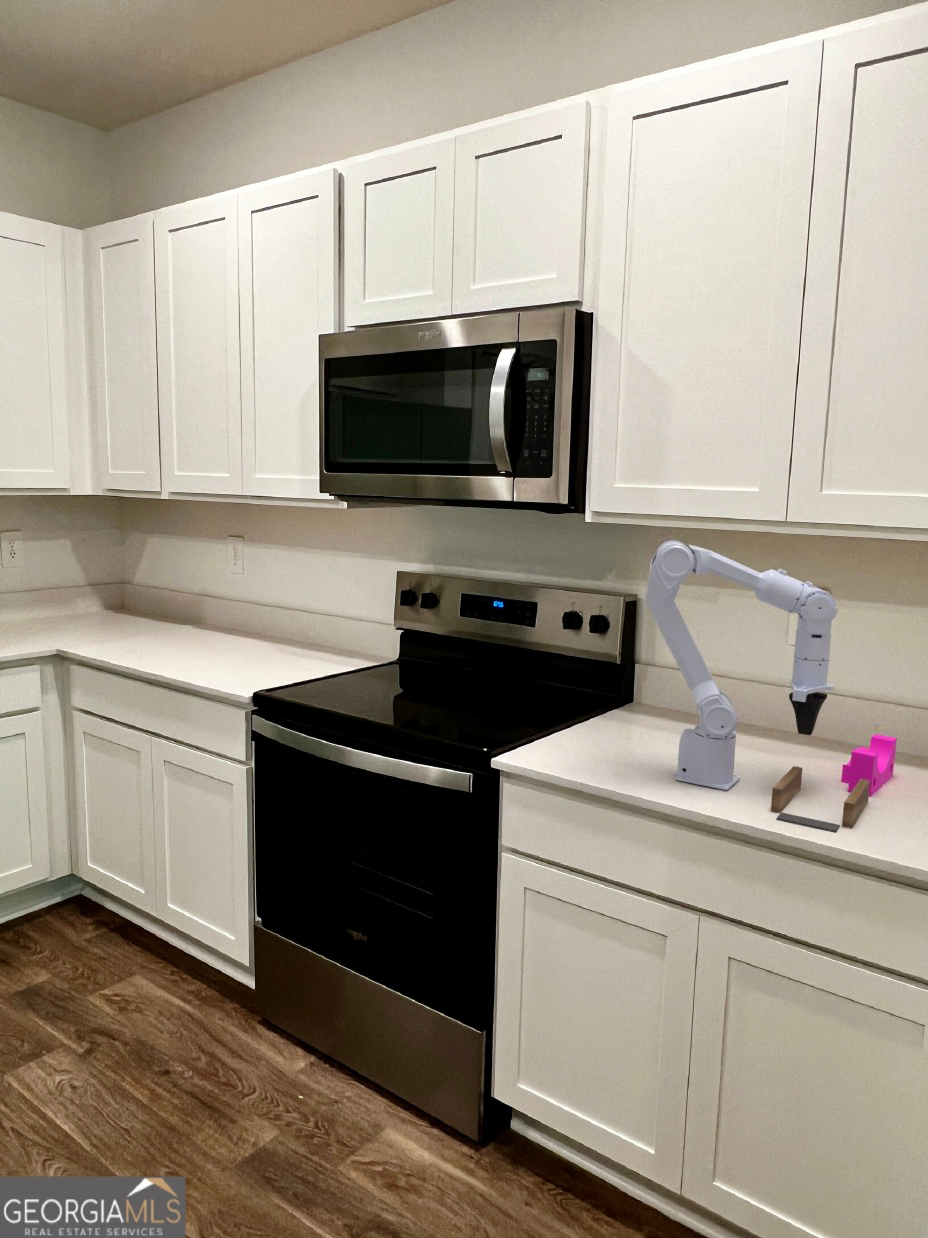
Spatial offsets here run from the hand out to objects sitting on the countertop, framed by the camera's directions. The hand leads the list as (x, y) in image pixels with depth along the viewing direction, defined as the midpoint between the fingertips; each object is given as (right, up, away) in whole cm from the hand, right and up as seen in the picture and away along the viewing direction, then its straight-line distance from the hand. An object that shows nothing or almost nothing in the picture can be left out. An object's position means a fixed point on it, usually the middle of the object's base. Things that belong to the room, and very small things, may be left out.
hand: (805, 733), depth 158 cm
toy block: (+13, -10, +6) cm, 17 cm away
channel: (0, -11, -8) cm, 14 cm away
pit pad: (-5, -12, -15) cm, 20 cm away
